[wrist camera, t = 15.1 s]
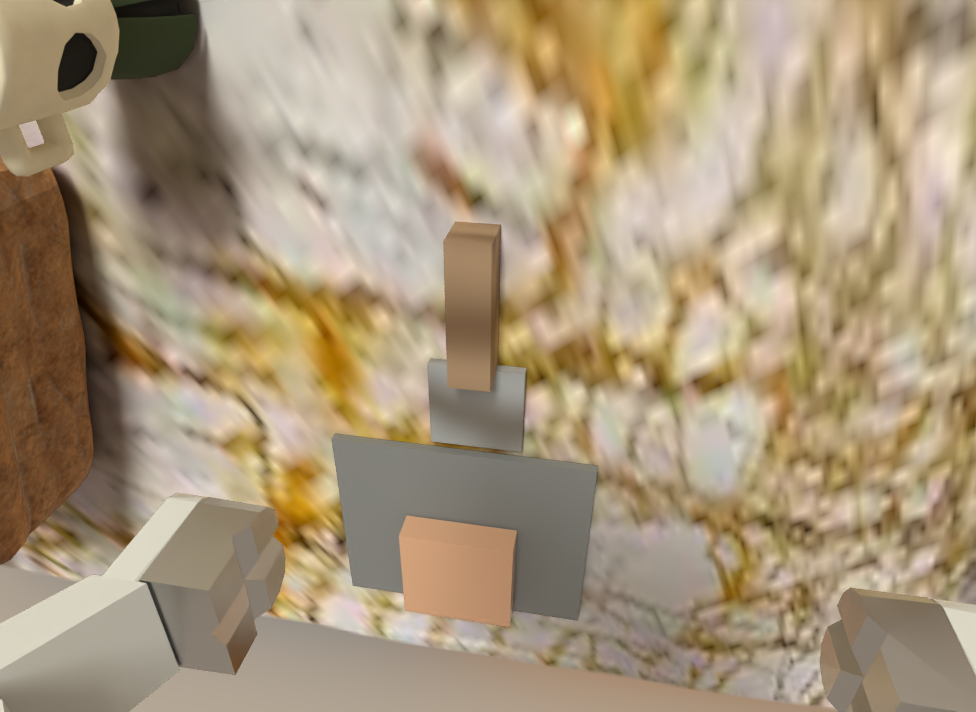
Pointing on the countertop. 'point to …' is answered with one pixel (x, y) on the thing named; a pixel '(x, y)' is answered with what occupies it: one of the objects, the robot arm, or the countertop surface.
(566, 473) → the gray rectangular plate
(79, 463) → the bread
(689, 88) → the countertop surface
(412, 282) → the countertop surface
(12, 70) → the character mug
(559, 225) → the countertop surface
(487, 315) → the turner
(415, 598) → the block
